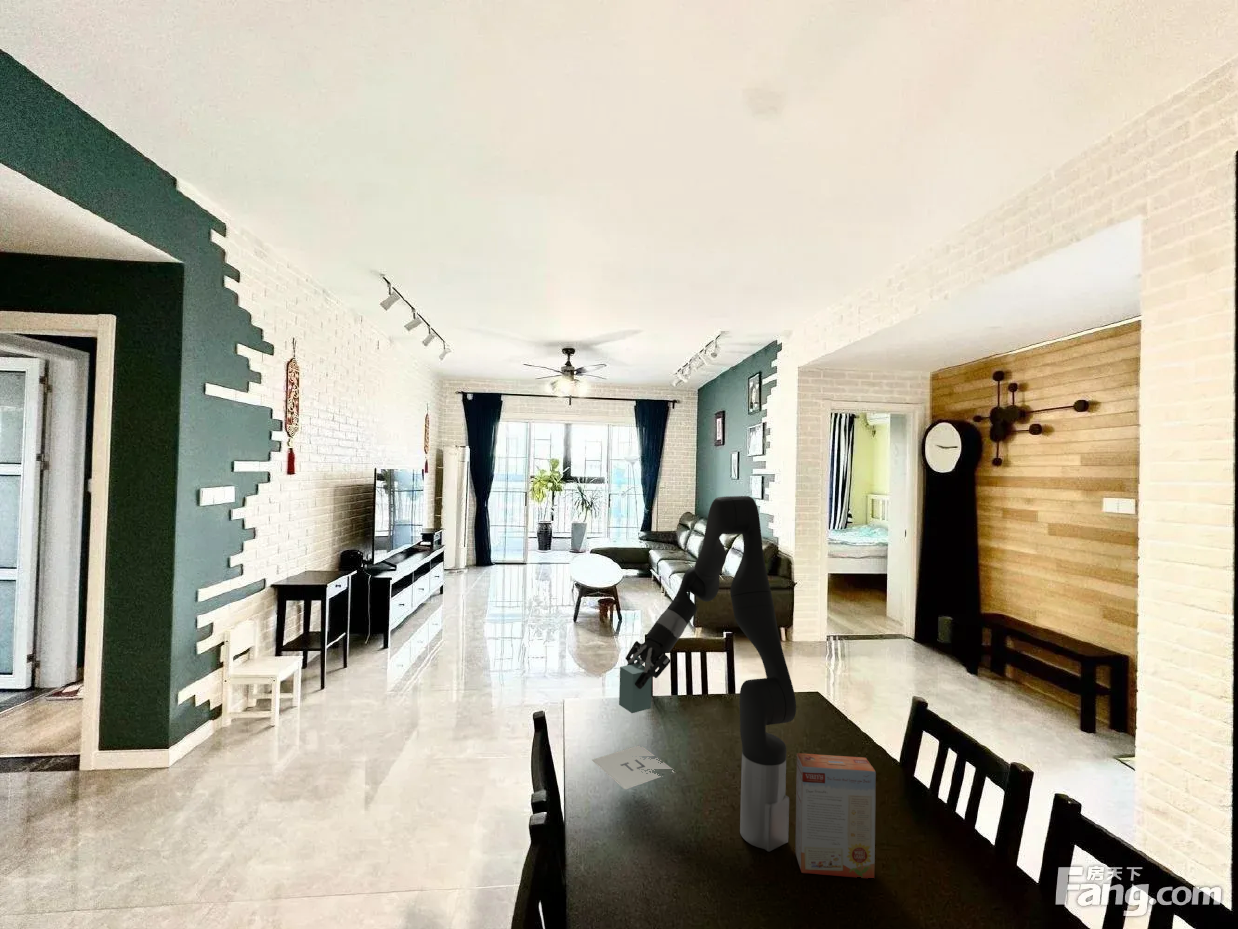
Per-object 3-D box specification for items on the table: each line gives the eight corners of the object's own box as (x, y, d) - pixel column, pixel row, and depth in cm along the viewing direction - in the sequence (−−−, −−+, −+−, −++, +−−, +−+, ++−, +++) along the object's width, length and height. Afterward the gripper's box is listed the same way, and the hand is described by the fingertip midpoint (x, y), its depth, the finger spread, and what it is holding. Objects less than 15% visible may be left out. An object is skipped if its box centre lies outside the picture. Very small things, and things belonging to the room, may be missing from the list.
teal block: (650, 708, 146) (651, 670, 146) (631, 713, 142) (632, 674, 142) (637, 700, 151) (638, 662, 151) (619, 704, 147) (620, 666, 147)
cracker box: (864, 859, 113) (867, 756, 113) (875, 881, 107) (877, 772, 107) (793, 852, 114) (796, 750, 115) (800, 874, 108) (803, 766, 109)
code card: (676, 771, 144) (676, 771, 144) (624, 790, 135) (624, 789, 135) (640, 745, 157) (640, 744, 157) (591, 760, 148) (591, 759, 148)
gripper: (643, 616, 157) (607, 665, 150) (676, 629, 145) (637, 683, 138) (658, 632, 159) (622, 681, 153) (691, 646, 147) (654, 700, 141)
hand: (630, 682), depth 145 cm, fingers closed on teal block, 6 cm apart
